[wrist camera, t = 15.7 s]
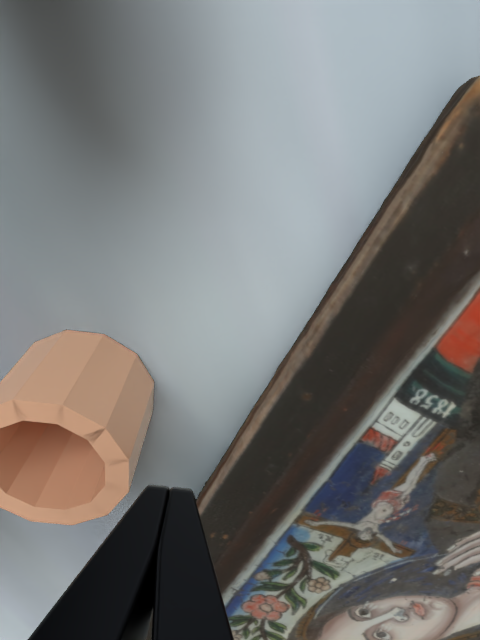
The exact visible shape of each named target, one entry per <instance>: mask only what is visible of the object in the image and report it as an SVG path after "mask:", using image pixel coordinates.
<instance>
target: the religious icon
mask: <svg viewBox="0 0 480 640" xmlns="http://www.w3.org/2000/svg"><path fill="white" fill-rule="evenodd" d="M196 504H197V507H198V511H199V515H200V518H201V522H202V526H203V529H204V533H205V536H206V540H207V544H208V547H209V551H210V554H211V558H212V562H213V565H214V569H215V573H216V576H217V580H218V583H219V587H220V591H221V594H222V598H223V602H224V605H225V609H226V612H227V616H228V620H229V623H230V627H231V630H232V634H233V638H234V640H480V76H477V77H474V78H471V79H469V80H468V81H467V82H466V83H464V84H463V85H462V86H461V87H459V88H458V89H457V91H456V92H455V93H454V95H453V96H452V98H451V99H450V101H449V102H448V104H447V105H446V106H445V108H444V109H443V111H442V112H441V114H440V116H439V117H438V119H437V120H436V122H435V124H434V125H433V127H432V128H431V130H430V131H429V133H428V134H427V136H426V137H425V138H424V140H423V141H422V143H421V144H420V146H419V148H418V149H417V151H416V152H415V154H414V155H413V157H412V158H411V160H410V161H409V163H408V164H407V166H406V168H405V169H404V171H403V173H402V175H401V176H400V178H399V180H398V181H397V183H396V184H395V186H394V187H393V189H392V190H391V192H390V193H389V195H388V196H387V197H386V199H385V200H384V202H383V204H382V206H381V208H380V210H379V211H378V213H377V214H376V216H375V217H374V219H373V220H372V222H371V223H370V225H369V226H368V228H367V229H366V231H365V232H364V234H363V236H362V237H361V239H360V240H359V242H358V243H357V245H356V247H355V248H354V250H353V252H352V254H351V255H350V257H349V258H348V260H347V261H346V263H345V264H344V266H343V267H342V269H341V271H340V272H339V274H338V275H337V277H336V278H335V280H334V281H333V282H332V284H331V285H330V287H329V289H328V291H327V292H326V294H325V296H324V298H323V299H322V301H321V302H320V304H319V306H318V307H317V309H316V310H315V312H314V314H313V315H312V317H311V318H310V320H309V321H308V323H307V324H306V326H305V328H304V329H303V331H302V332H301V334H300V335H299V337H298V339H297V340H296V342H295V343H294V345H293V346H292V348H291V349H290V351H289V352H288V354H287V355H286V357H285V358H284V360H283V361H282V362H281V364H280V365H279V366H278V368H277V370H276V373H275V375H274V376H273V378H272V380H271V382H270V383H269V385H268V386H267V388H266V389H265V391H264V392H263V394H262V395H261V396H260V398H259V400H258V401H257V403H256V404H255V406H254V407H253V409H252V410H251V412H250V414H249V415H248V417H247V419H246V421H245V422H244V424H243V425H242V427H241V428H240V430H239V431H238V433H237V435H236V437H235V438H234V440H233V442H232V443H231V445H230V446H229V448H228V450H227V451H226V453H225V455H224V456H223V457H222V459H221V461H220V463H219V464H218V466H217V467H216V469H215V471H214V472H213V473H212V475H211V477H210V478H209V480H208V481H207V482H206V483H205V486H204V488H203V489H202V491H201V492H200V493H199V497H198V499H197V500H196ZM152 617H153V612H152ZM152 617H151V621H150V625H149V630H148V633H147V637H146V640H151V635H152Z"/></svg>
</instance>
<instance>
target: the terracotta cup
mask: <svg viewBox="0 0 480 640" xmlns="http://www.w3.org/2000/svg"><path fill="white" fill-rule="evenodd" d="M153 401H154V381H153V379H152V377H151V376H150V374H149V373H148V371H147V369H146V368H145V366H144V365H143V363H142V361H141V360H140V358H139V356H138V355H137V354H136V353H135V352H133V351H131V350H130V349H128V348H126V347H125V346H123V345H121V344H120V343H118V342H116V341H115V340H113V339H111V338H110V337H108V336H106V335H105V334H98V333H90V332H81V331H72V330H64V331H62V332H59V333H57V334H54V335H52V336H49V337H47V338H44V339H41V340H39V341H36V342H34V343H33V344H32V346H31V347H30V348H29V349H28V350H27V352H26V353H25V354H24V355H23V356H22V357H21V359H20V360H19V361H18V362H17V363H16V364H15V366H14V367H13V368H12V369H11V370H10V371H9V373H8V374H7V375H6V376H5V377H4V378H3V380H2V381H1V382H0V508H2V509H5V510H7V511H9V512H11V513H13V514H16V515H18V516H20V517H22V518H25V519H27V520H29V521H33V522H44V523H54V524H65V525H75V524H78V523H82V522H85V521H88V520H92V519H95V518H99V517H102V516H106V515H108V514H109V513H110V512H111V511H112V510H113V508H114V507H115V506H116V505H117V504H118V503H119V502H120V501H121V500H122V499H123V498H124V497H125V495H126V494H127V493H128V492H129V490H130V486H131V483H132V479H133V476H134V473H135V469H136V466H137V463H138V459H139V456H140V453H141V449H142V446H143V442H144V439H145V436H146V432H147V429H148V426H149V422H150V419H151V416H152V412H153Z"/></svg>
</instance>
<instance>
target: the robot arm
mask: <svg viewBox="0 0 480 640" xmlns="http://www.w3.org/2000/svg"><path fill="white" fill-rule="evenodd" d="M152 612H153V617H152ZM151 617H152V635H151V640H234V638H233V634H232V630H231V627H230V623H229V620H228V616H227V612H226V609H225V605H224V602H223V598H222V594H221V591H220V587H219V583H218V580H217V576H216V573H215V569H214V565H213V562H212V558H211V554H210V551H209V547H208V544H207V540H206V536H205V533H204V529H203V526H202V522H201V518H200V515H199V511H198V507H197V504H196V500H195V497H194V493H193V491H192V490H191V489H188V488H178V487H173V488H171V489H169V488H168V487H167V486H159V485H148V486H147V487H146V488H145V489H144V490H143V491H142V493H141V494H140V495H139V497H138V498H137V499H136V501H135V502H134V503H133V504H132V506H131V507H130V508H129V510H128V511H127V512H126V513H125V515H124V516H123V517H122V519H121V520H120V521H119V522H118V524H117V525H116V526H115V528H114V529H113V530H112V532H111V533H110V534H109V535H108V537H107V538H106V539H105V541H104V542H103V543H102V544H101V546H100V547H99V548H98V550H97V551H96V552H95V553H94V555H93V556H92V557H91V559H90V560H89V561H88V562H87V564H86V565H85V566H84V568H83V569H82V570H81V572H80V573H79V574H78V575H77V577H76V578H75V579H74V581H73V582H72V583H71V584H70V586H69V587H68V588H67V590H66V591H65V592H64V593H63V595H62V596H61V597H60V599H59V600H58V601H57V603H56V604H55V605H54V606H53V608H52V609H51V610H50V612H49V613H48V614H47V615H46V617H45V618H44V619H43V621H42V622H41V623H40V624H39V626H38V627H37V628H36V630H35V631H34V632H33V633H32V635H31V636H30V637H29V639H28V640H146V637H147V633H148V630H149V625H150V621H151Z"/></svg>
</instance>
